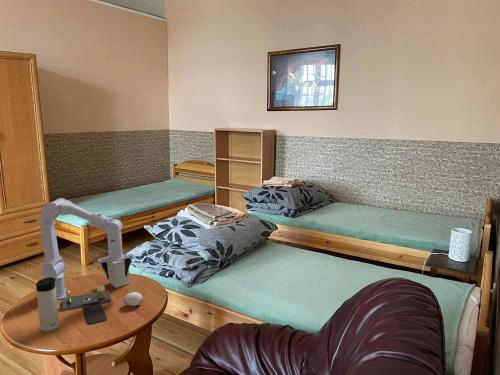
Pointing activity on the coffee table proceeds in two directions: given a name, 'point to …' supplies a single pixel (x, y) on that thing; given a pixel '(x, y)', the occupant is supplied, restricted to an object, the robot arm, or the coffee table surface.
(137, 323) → the coffee table surface
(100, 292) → the wooden block
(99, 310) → the phone
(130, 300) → the stress ball
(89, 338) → the coffee table surface
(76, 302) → the plate
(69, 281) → the coffee table surface
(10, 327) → the coffee table surface
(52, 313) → the travel mug
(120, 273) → the supplement box
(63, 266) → the robot arm
